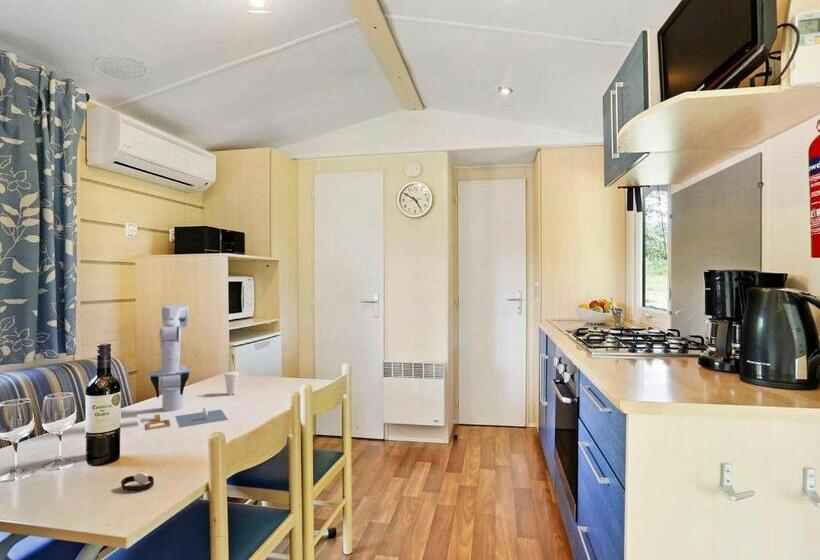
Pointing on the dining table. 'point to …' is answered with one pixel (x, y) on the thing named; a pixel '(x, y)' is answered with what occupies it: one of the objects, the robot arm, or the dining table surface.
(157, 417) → the loop
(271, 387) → the dining table surface
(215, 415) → the stand
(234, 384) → the smoothie
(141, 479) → the watch
